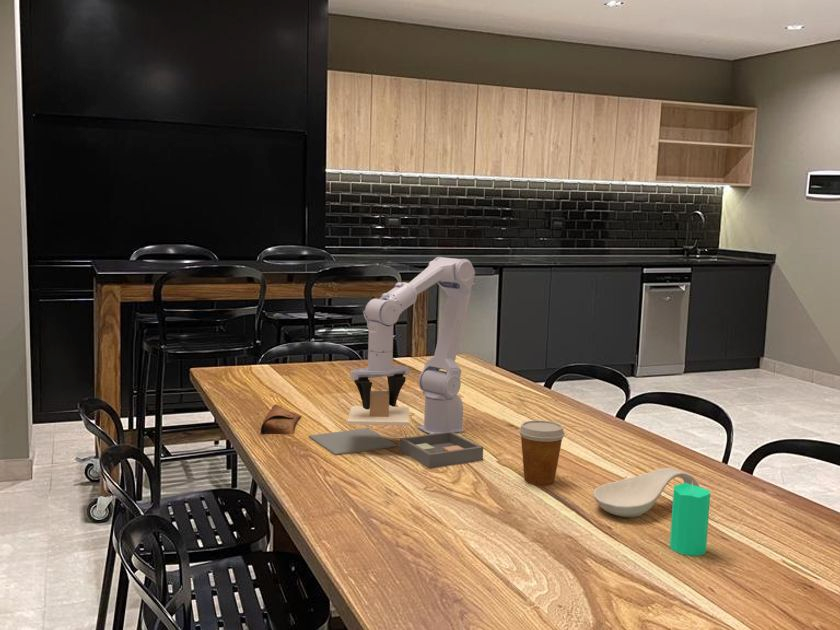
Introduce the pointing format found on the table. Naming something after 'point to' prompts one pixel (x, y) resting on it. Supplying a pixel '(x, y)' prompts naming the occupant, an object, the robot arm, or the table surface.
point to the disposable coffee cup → (540, 451)
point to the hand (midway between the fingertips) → (379, 407)
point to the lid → (379, 412)
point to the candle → (689, 519)
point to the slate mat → (352, 441)
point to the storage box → (441, 449)
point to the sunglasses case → (280, 421)
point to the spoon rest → (637, 492)
